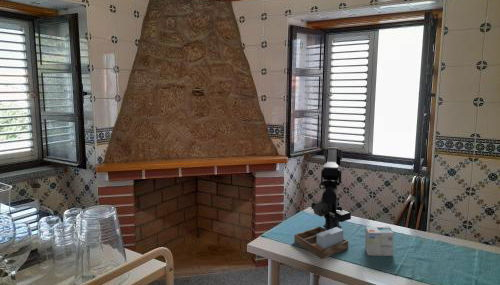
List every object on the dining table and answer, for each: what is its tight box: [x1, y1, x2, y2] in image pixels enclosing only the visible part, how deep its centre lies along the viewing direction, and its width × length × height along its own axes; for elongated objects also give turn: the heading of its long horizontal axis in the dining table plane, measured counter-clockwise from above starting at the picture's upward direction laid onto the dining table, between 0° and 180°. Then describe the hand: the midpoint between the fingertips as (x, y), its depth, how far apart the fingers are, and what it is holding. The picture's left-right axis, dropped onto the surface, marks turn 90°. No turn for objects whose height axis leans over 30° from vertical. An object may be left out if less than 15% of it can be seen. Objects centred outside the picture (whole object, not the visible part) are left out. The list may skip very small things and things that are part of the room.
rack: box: [293, 226, 349, 259], centre depth 162 cm, size 16×19×4 cm
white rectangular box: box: [317, 227, 344, 250], centre depth 157 cm, size 12×4×8 cm, turn 121°
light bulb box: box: [364, 225, 395, 257], centre depth 154 cm, size 11×7×11 cm, turn 84°
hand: (330, 229), depth 156 cm, fingers closed
